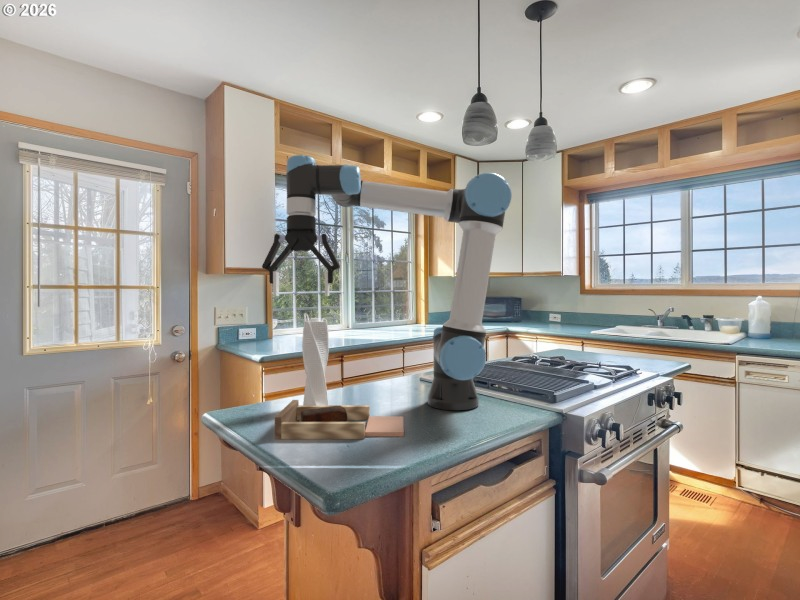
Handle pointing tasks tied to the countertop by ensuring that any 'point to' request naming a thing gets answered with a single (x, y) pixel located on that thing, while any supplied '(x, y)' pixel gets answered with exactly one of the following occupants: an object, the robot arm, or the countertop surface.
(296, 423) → the channel
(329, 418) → the brick
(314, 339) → the skyscraper
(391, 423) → the tile
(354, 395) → the countertop surface
